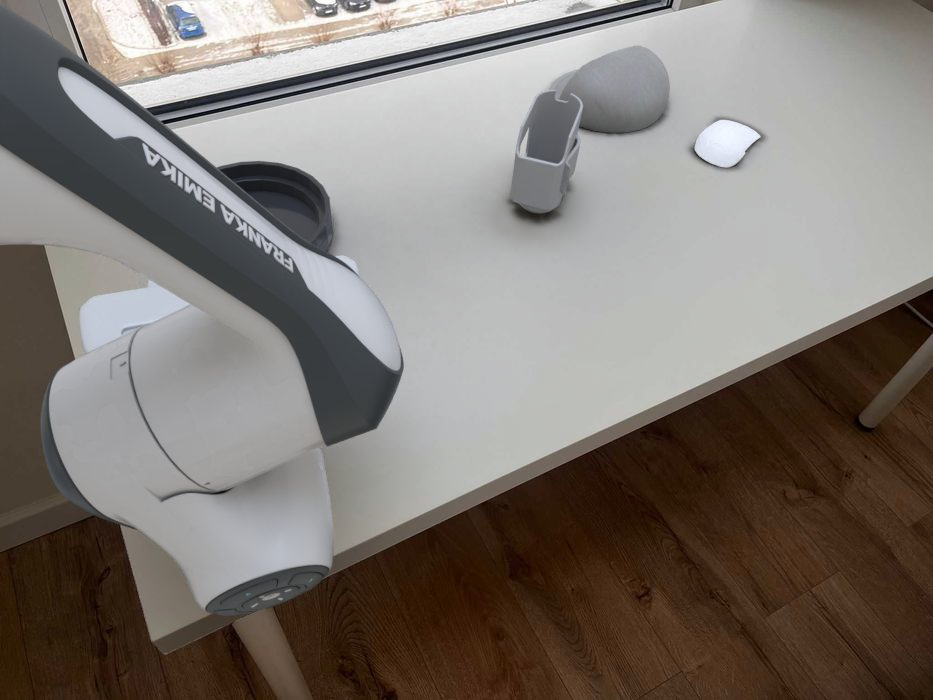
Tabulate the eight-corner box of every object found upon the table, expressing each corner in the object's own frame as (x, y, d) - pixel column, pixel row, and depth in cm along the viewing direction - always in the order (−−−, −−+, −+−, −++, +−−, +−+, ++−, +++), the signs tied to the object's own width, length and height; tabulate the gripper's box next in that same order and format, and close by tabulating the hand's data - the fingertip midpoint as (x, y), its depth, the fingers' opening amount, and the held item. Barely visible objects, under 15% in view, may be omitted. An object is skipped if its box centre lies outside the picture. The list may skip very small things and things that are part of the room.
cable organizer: (504, 221, 88) (514, 137, 78) (529, 164, 95) (541, 81, 86) (556, 234, 87) (573, 151, 77) (577, 176, 94) (595, 93, 85)
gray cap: (609, 101, 93) (530, 46, 101) (598, 148, 99) (524, 92, 106) (706, 63, 101) (625, 14, 109) (690, 109, 106) (614, 59, 114)
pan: (166, 299, 76) (155, 272, 73) (179, 192, 88) (171, 165, 84) (337, 285, 79) (334, 259, 76) (329, 183, 90) (326, 157, 87)
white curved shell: (764, 134, 103) (770, 120, 101) (731, 173, 97) (737, 158, 95) (721, 116, 105) (726, 102, 103) (686, 153, 99) (691, 139, 97)
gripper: (385, 322, 49) (345, 199, 58) (66, 383, 45) (73, 239, 53) (387, 377, 54) (350, 256, 62) (100, 437, 49) (101, 298, 58)
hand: (221, 249), depth 58 cm, fingers closed on figurine, 6 cm apart
